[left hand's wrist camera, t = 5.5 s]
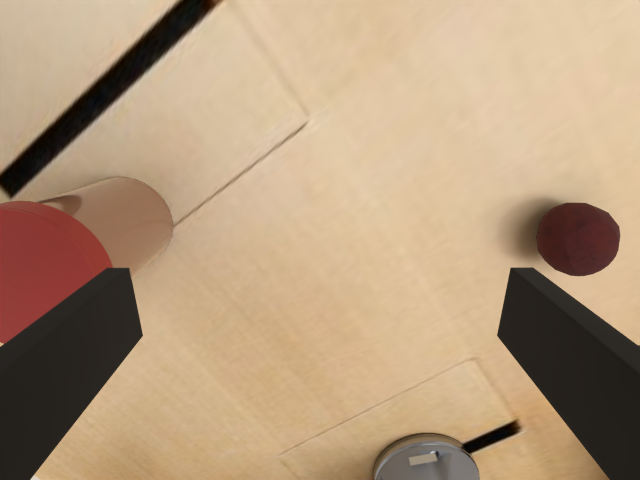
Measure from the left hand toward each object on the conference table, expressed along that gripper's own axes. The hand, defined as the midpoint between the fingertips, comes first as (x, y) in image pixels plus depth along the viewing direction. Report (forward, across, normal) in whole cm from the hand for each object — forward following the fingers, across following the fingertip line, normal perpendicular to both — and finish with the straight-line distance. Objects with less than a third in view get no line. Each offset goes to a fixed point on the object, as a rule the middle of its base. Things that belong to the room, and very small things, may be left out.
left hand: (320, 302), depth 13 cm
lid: (+12, -22, -6) cm, 26 cm away
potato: (+28, +27, -6) cm, 39 cm away
